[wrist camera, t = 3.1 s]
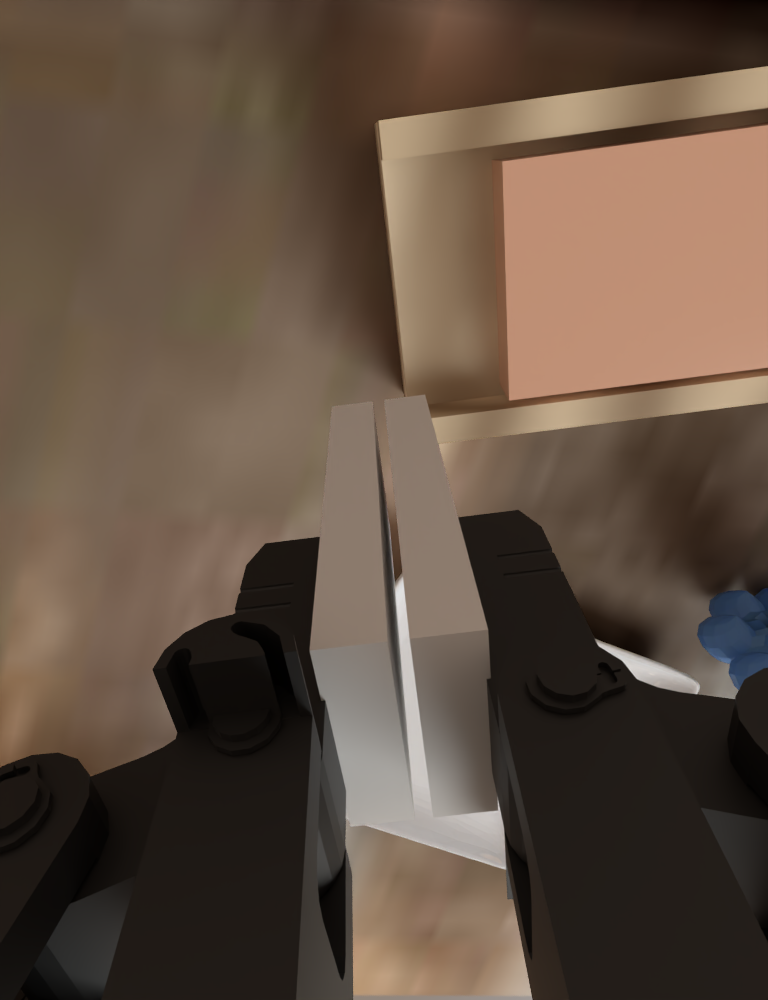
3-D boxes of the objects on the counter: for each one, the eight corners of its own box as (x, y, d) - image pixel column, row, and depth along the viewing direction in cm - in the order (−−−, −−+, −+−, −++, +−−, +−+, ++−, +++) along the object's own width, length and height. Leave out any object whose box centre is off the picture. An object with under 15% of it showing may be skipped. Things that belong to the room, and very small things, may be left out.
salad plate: (408, 527, 38) (412, 560, 35) (687, 651, 43) (712, 689, 40) (263, 754, 46) (256, 796, 43) (511, 833, 52) (520, 876, 49)
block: (499, 384, 28) (509, 400, 26) (491, 159, 24) (502, 161, 22) (828, 342, 28) (861, 355, 26) (879, 106, 23) (921, 103, 22)
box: (403, 393, 33) (413, 447, 27) (373, 124, 27) (378, 120, 22) (758, 348, 33) (844, 392, 27) (804, 64, 27) (926, 43, 21)
